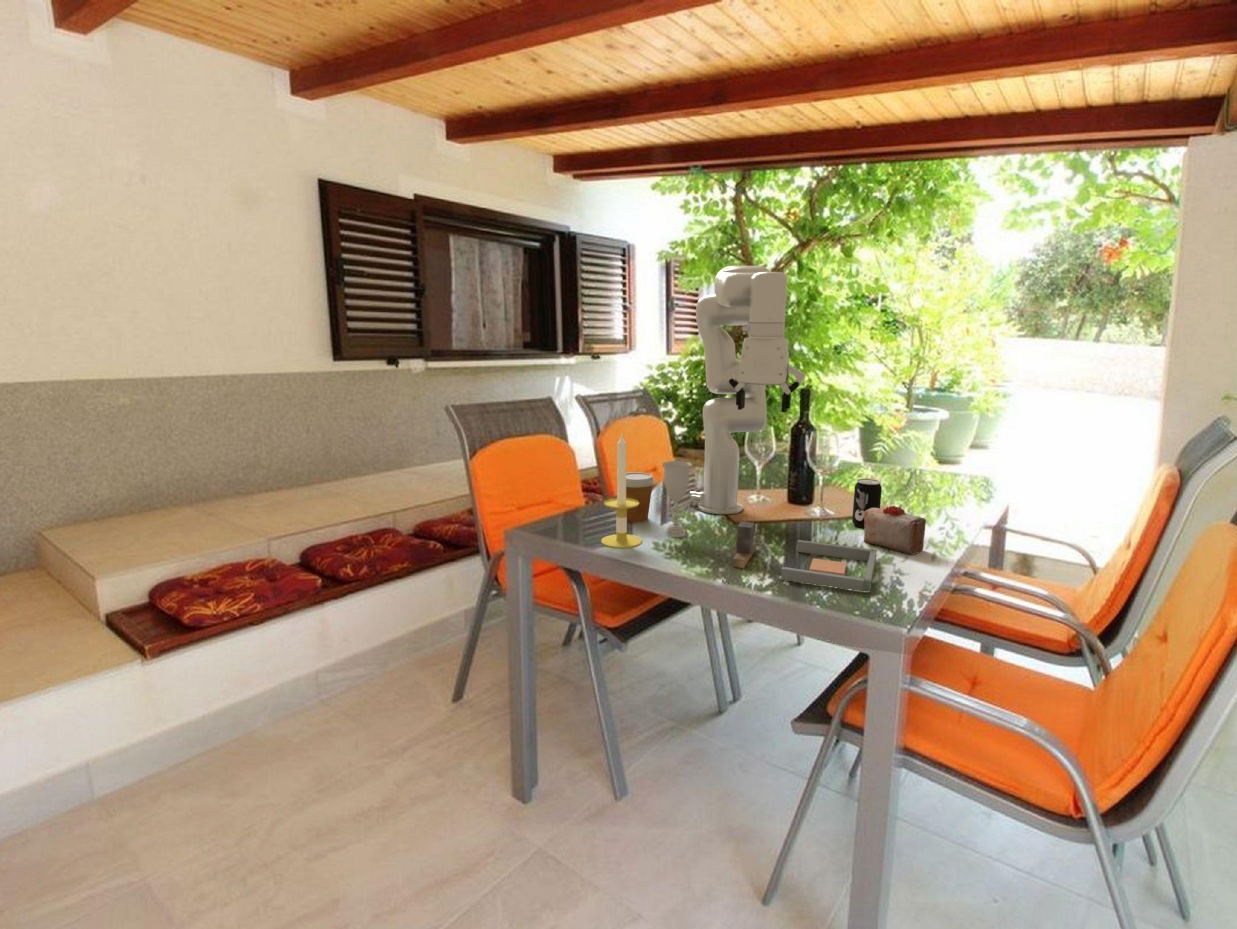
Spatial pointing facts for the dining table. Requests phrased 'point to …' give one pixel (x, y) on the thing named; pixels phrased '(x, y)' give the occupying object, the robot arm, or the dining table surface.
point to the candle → (621, 505)
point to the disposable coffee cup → (639, 495)
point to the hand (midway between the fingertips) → (762, 410)
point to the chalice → (676, 490)
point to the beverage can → (865, 499)
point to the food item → (894, 529)
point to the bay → (833, 579)
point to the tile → (828, 566)
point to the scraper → (744, 544)
